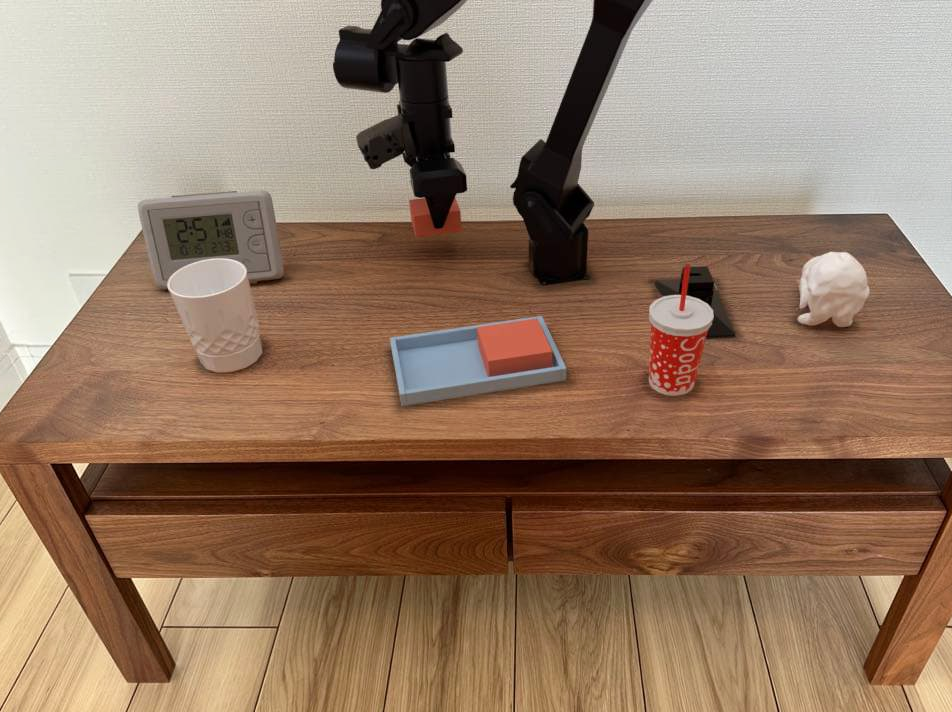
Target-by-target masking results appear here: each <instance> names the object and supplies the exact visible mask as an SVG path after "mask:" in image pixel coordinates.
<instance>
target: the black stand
mask: <svg viewBox="0 0 952 712" xmlns="http://www.w3.org/2000/svg"><path fill="white" fill-rule="evenodd" d="M684 271H685V266H683V267H682V269H681V273H680V277H679V278H672V279H671V278H670V279H669V278H668V279H666V278H665V279H655V281H654V284H655V287H656V290H657V291H658V293H659V294H660V295H661V296H662V297H664V296H670V295H681V292H682V285H683V278H684ZM686 296H691V297H694V298H698V299H700V300H702V301H704V302H705V303H707V304H708V305H709V306H710V307H711V308H712V310H713V315H714V318H713V321H712V325H711V326H710V328H709V329H708V332H707V336H706V339H727V338H729V339H730V338H736V335H737V333H736V331H735V329H734V327H733V324H732V322H731V320H730V317H729V315H728V313H727V311H726V308H725V306H724V304H723V301H722V299H721V296H720V295H719V292H718V288H717V285H716V283H715V281H714V279H713V276H712V274H711V272H710V269H709V267H708V265H707V266H706V265H705V266H704V265H703V266H702V265H701V266H690V273H689V280H688V286H687V293H686Z"/></svg>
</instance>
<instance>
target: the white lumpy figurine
mask: <svg viewBox="0 0 952 712" xmlns="http://www.w3.org/2000/svg"><path fill="white" fill-rule="evenodd" d="M796 282H797V283H798V284H797V287H798V290H799V291H798V292H799V299H800V300H799V301H800V302H799V309H805V308H806V307H807V306H808V308H809V312H806V313H802V314H801V315H799V316H798V317H797V322H798V323H799V324H801V325H806V326H816V325H820V324H822V323H824V322H827V321H828V320H829V319H831V321H832V323H833V324H834V325H835V326H837V327H838V328H846V327H850V326H852V325H853V318H854V316H855V315H856V314H858V313H859V312H860V311H861V310H862V308H863V307H864V305H865V303H866V300H867V299H868V298H869V296H870V287H869V285H868V276H867V273H866V270H865V269H864V267H863V265H862V264H861V263H860V261H858V260H857V259H856V258H855V257H854V256H853V255H852V254H850V253H849V252H846V251H841V252H838V251H829V252H827V253H823V254H821V255H817V256H813V257H812V258H810V259H809V260H808V261H806V263H805V264H804V265H803V267H802V270H801V278H798V279H796Z"/></svg>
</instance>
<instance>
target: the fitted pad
mask: <svg viewBox="0 0 952 712" xmlns="http://www.w3.org/2000/svg"><path fill="white" fill-rule="evenodd" d="M477 340H478V348H479V351H480V354H481V357H482V360H483V363H484V366H485V369H486V372H487V375H488V377H493V376H499V375H505V374H512V373H518V372H525V371H531V370H538V369H544V368H550V367H552V349H551V347H550V345H549V343H548V341H547V338H546V336H545V334H544V332H543V330H542V328H541V325H540V323H539V321H538V319H530V320H523V321H516V322H509V323H503V324H496V325H489V326H482V327H477Z"/></svg>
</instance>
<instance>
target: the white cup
mask: <svg viewBox="0 0 952 712" xmlns="http://www.w3.org/2000/svg"><path fill="white" fill-rule="evenodd" d="M167 287H168V289H167V290H168V292H169V294H170V296H171V299H172V301H173V303H174V306H175V308H176V311H177V313H178V315H179V318H180V321H181V323H182V325H183V327H184V329H185V331H186V334H187V335H188V338H189V340H190V343H191V345H192V347H193V348H194V350H195V352H196V355H197V357H198V360H199V363H200V364H201V365H202V366H203V368H205V369H206V371H211V372H214V373H220V374H221V373H234V372H237V371H241V370H244V369H246V368H248V367H250V366H251V365H254V364H255V363H256V362H257V361H258V360H259V358H260V357H261V356H262V355H263V342H262V337H261V333H260V325H259V321H258V315H257V309H256V305H255V301H254V298H253V293H252V288H251V284H250V283H249V278H248V274H247V270H246V267H245V266H244V265H243V264H242V263H240V262H238V261H235V260H232V259H224V258H216V259H207V260H202V261H198V262H194V263H191V264H189V265H187V266H184V267H182V268H181V269H179V270H177V271H176V272H175V273H174V274H173V275H172V276H171V277H170V278H169V280H168V283H167Z"/></svg>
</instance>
